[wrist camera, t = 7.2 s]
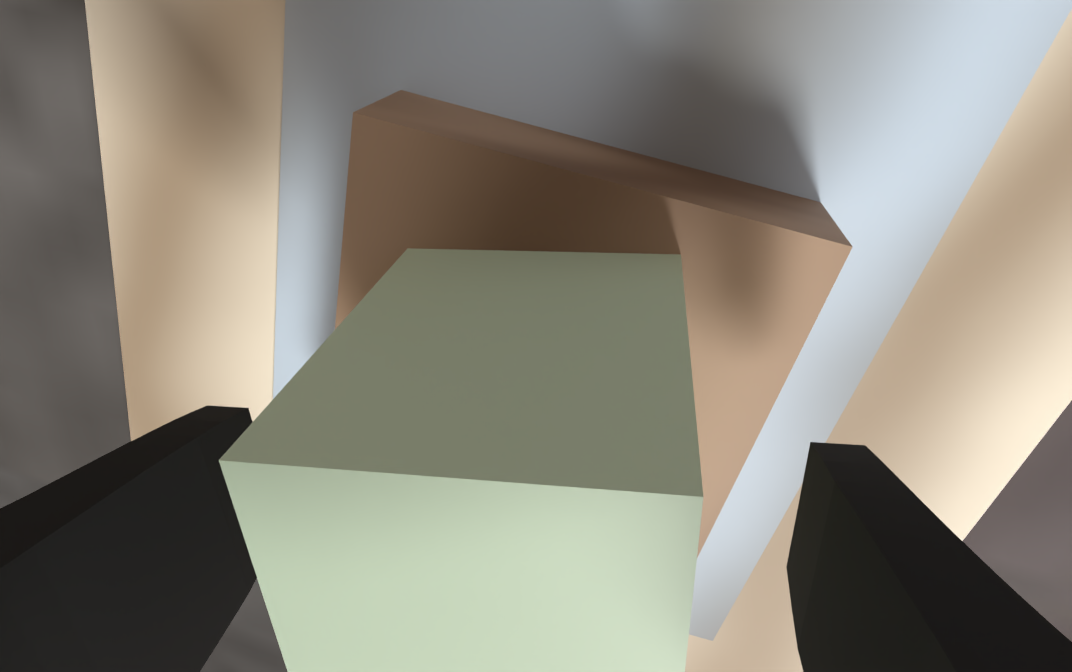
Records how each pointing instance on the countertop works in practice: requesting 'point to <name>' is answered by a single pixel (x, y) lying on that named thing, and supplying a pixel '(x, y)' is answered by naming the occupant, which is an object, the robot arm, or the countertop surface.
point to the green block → (484, 472)
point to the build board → (224, 257)
